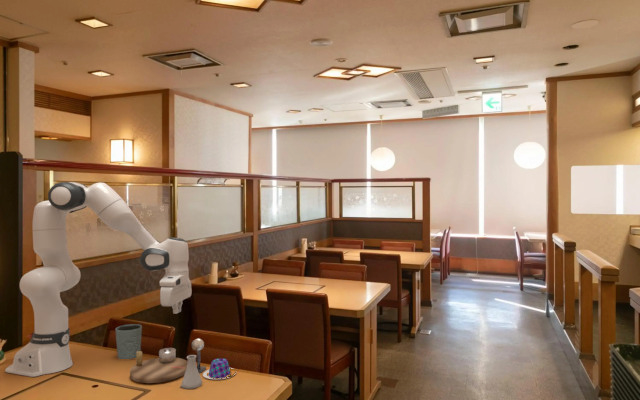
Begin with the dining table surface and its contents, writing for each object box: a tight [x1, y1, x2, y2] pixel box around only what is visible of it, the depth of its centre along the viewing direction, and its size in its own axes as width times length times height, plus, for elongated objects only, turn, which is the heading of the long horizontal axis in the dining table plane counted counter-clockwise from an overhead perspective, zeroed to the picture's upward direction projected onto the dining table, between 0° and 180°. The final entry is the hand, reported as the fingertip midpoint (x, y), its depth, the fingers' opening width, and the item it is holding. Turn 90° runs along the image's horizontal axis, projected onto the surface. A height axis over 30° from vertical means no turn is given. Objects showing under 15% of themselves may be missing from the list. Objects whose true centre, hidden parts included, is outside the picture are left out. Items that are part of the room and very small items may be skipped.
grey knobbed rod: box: [191, 337, 207, 374], centre depth 167 cm, size 4×4×12 cm
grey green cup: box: [114, 323, 143, 360], centre depth 183 cm, size 10×10×12 cm
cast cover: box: [158, 347, 177, 364], centre depth 170 cm, size 6×6×4 cm
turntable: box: [129, 350, 188, 384], centre depth 164 cm, size 20×20×7 cm
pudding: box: [202, 358, 237, 380], centre depth 164 cm, size 12×12×5 cm
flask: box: [180, 354, 203, 390], centre depth 154 cm, size 7×7×10 cm
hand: (177, 312), depth 178 cm, fingers closed
